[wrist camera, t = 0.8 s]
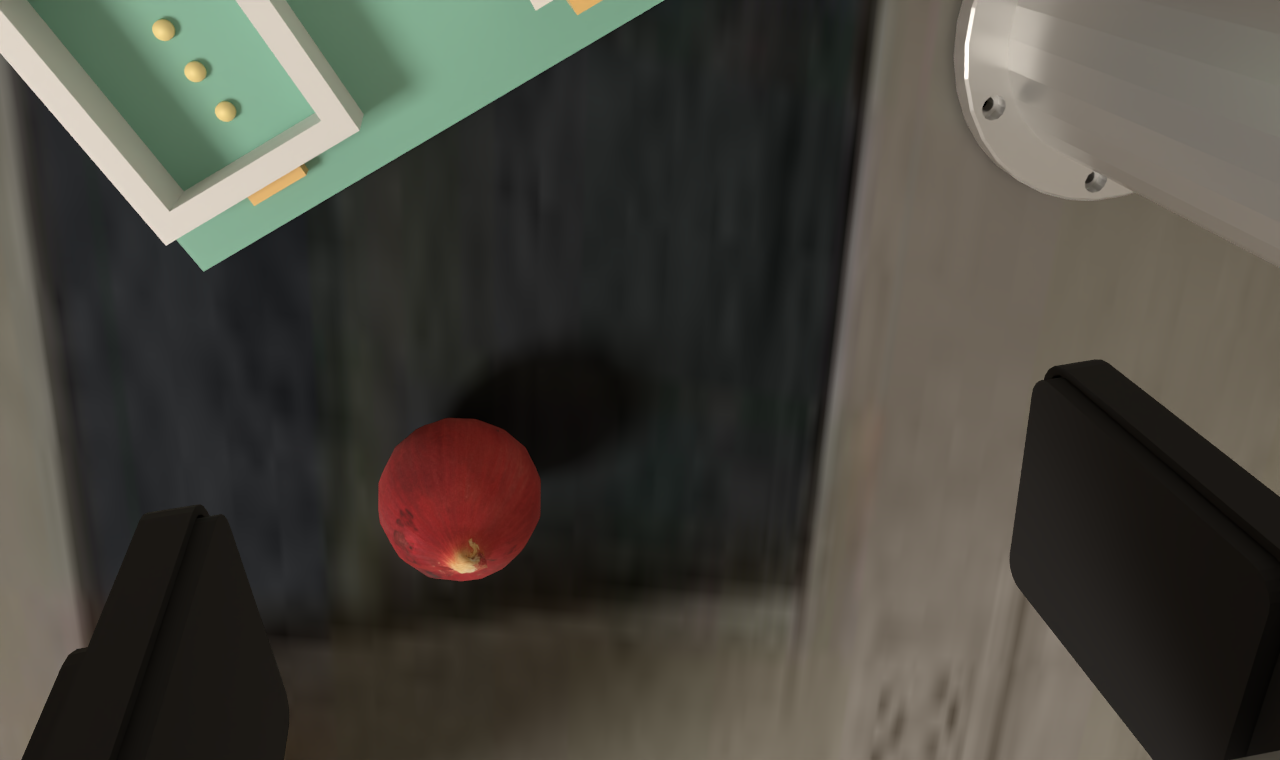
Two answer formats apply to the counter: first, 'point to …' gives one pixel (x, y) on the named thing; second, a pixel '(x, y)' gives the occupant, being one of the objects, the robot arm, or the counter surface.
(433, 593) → the counter surface
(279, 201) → the board
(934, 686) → the counter surface
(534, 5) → the plug
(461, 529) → the onion
